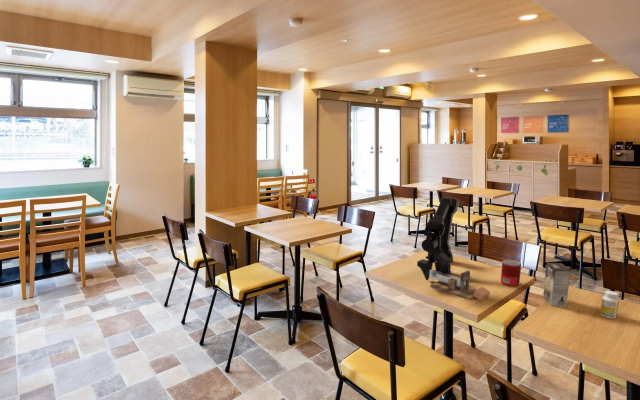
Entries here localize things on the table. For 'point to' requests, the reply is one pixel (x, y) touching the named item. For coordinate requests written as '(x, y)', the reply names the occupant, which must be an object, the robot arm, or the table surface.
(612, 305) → the supplement bottle
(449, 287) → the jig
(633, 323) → the table surface
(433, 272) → the shaft
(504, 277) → the canned food
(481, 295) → the block
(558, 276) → the coffee box
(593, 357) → the table surface
